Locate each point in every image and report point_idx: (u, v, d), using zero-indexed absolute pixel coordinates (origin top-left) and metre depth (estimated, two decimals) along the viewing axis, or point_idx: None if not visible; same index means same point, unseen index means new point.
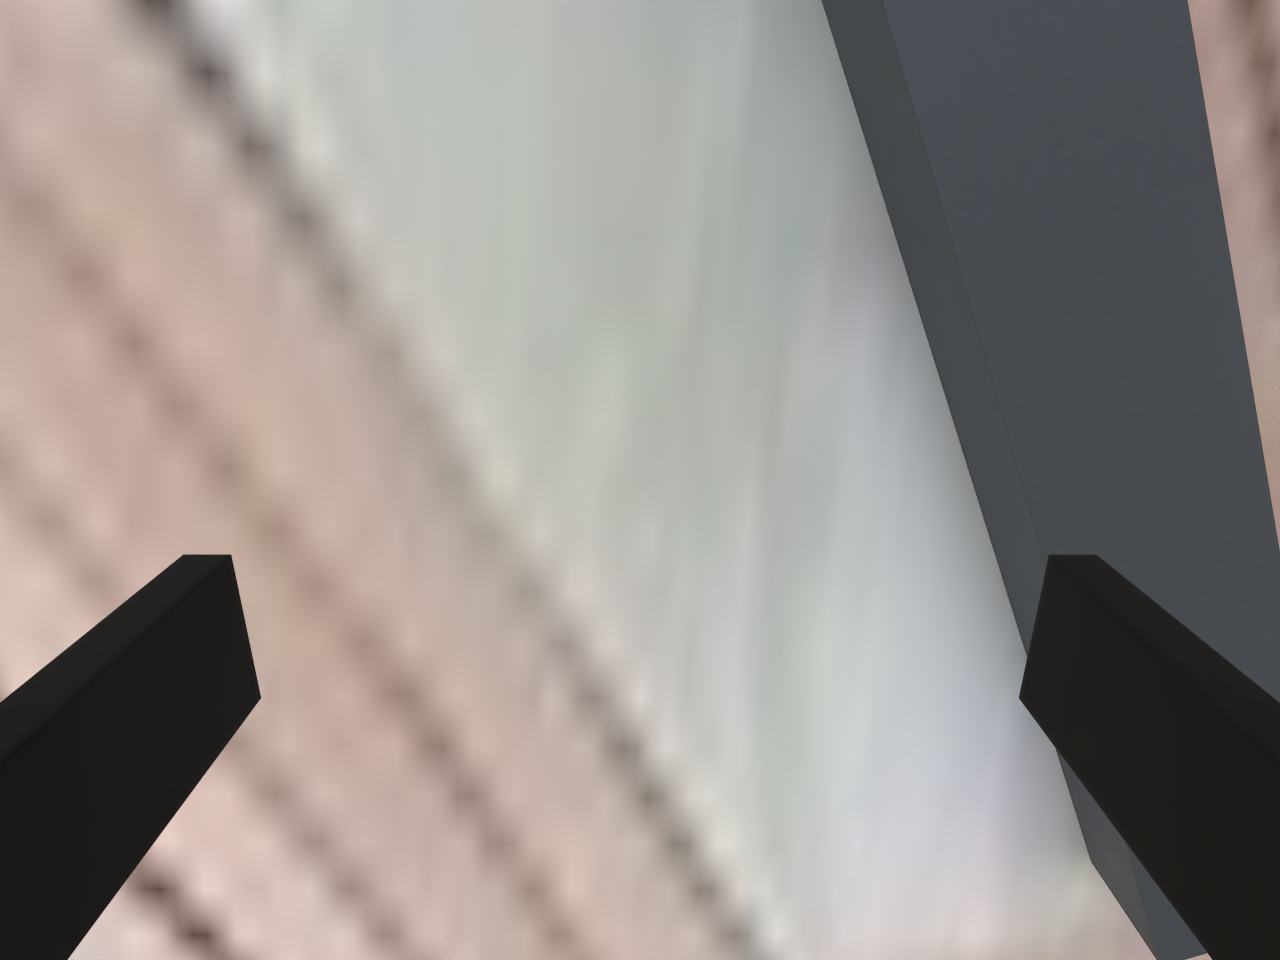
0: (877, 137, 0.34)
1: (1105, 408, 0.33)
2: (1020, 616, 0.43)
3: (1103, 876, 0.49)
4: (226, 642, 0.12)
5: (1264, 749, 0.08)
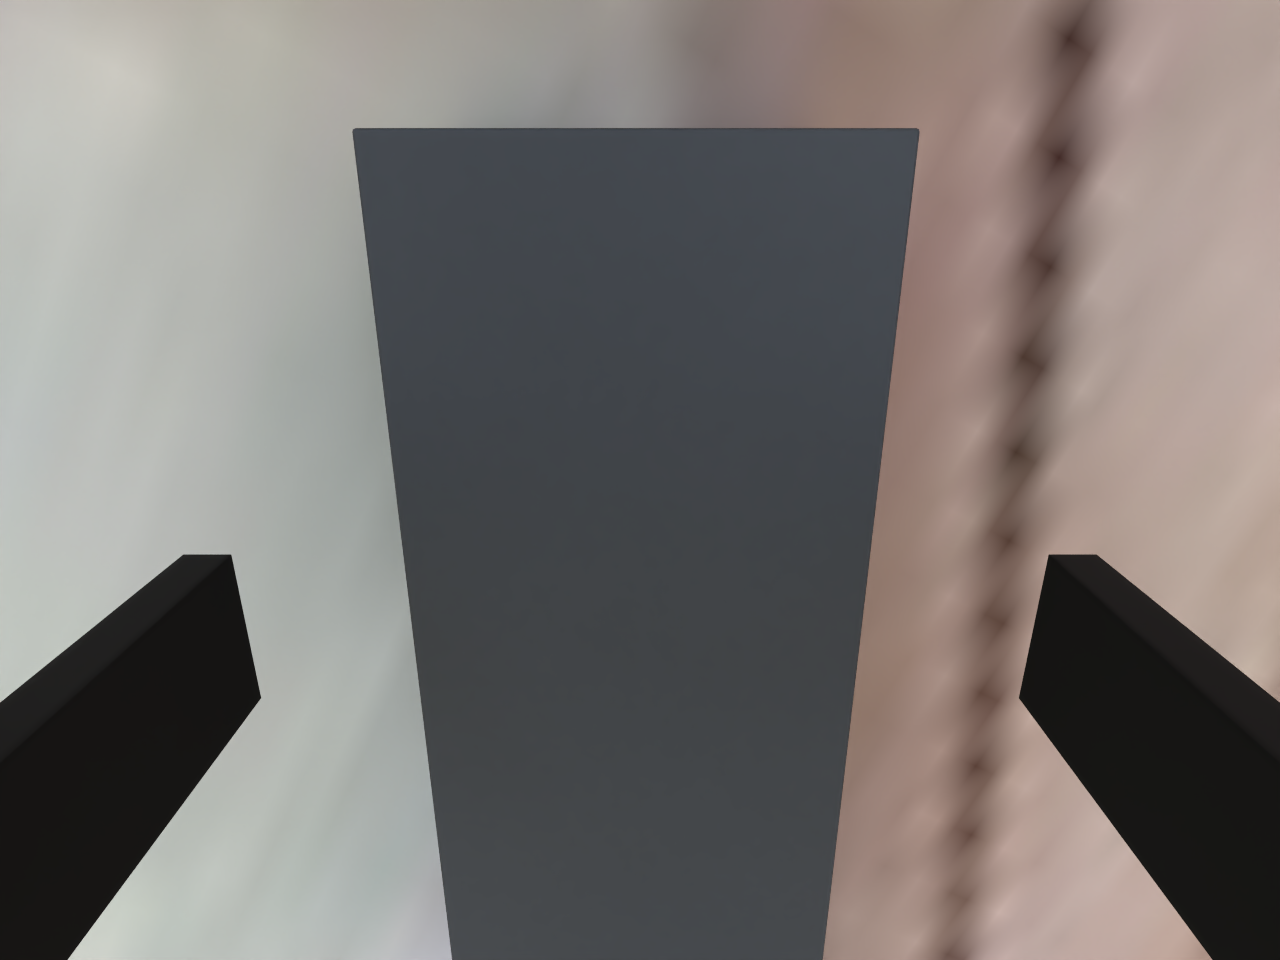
0: None
1: None
2: None
3: None
4: (226, 642, 0.12)
5: (1264, 749, 0.08)
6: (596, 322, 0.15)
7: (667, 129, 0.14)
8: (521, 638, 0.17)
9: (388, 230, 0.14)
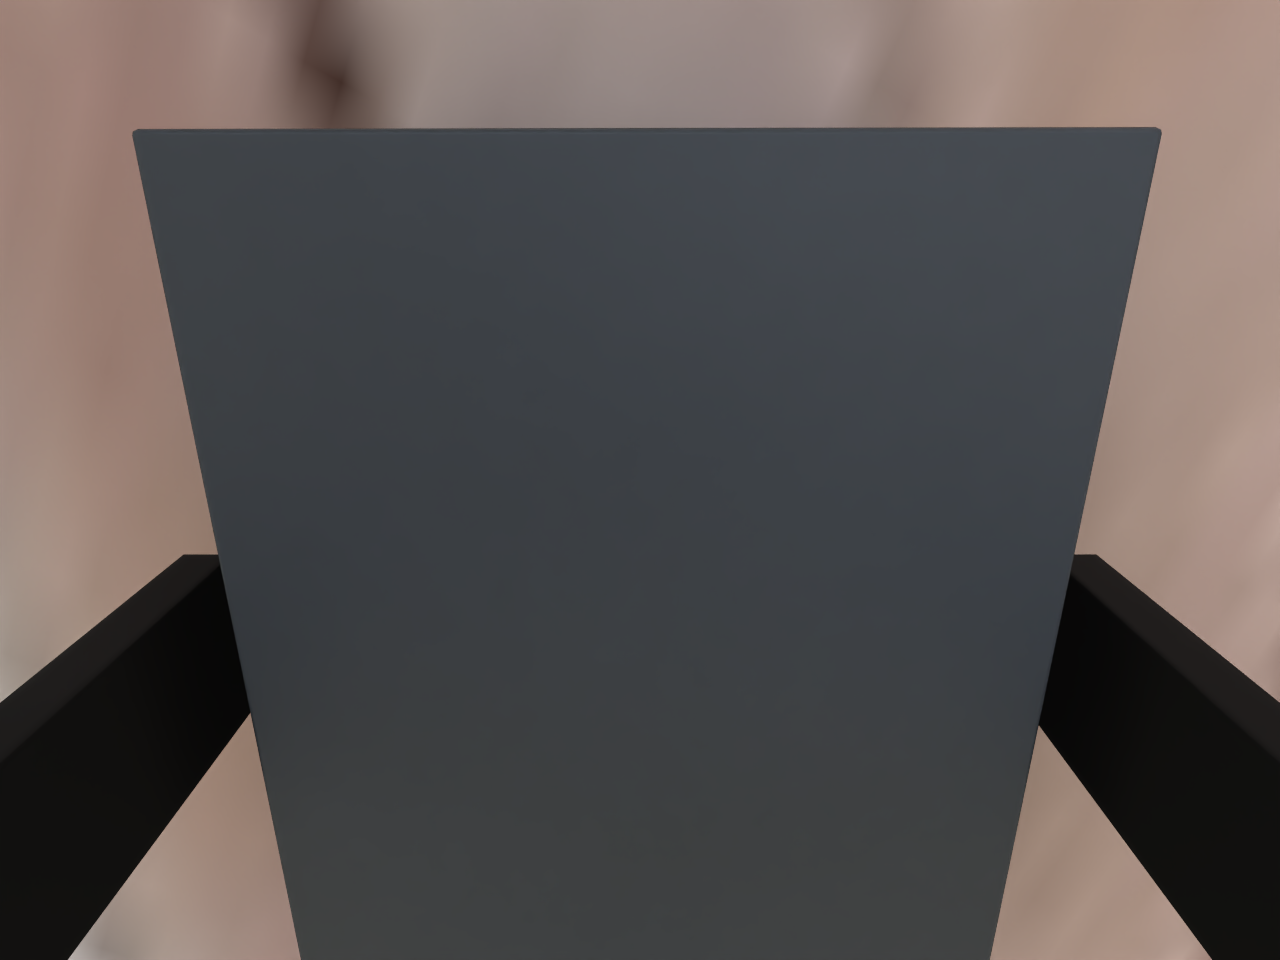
0: None
1: None
2: None
3: None
4: (226, 642, 0.12)
5: (1264, 748, 0.08)
6: (575, 460, 0.09)
7: (701, 130, 0.07)
8: (463, 927, 0.11)
9: (208, 308, 0.08)
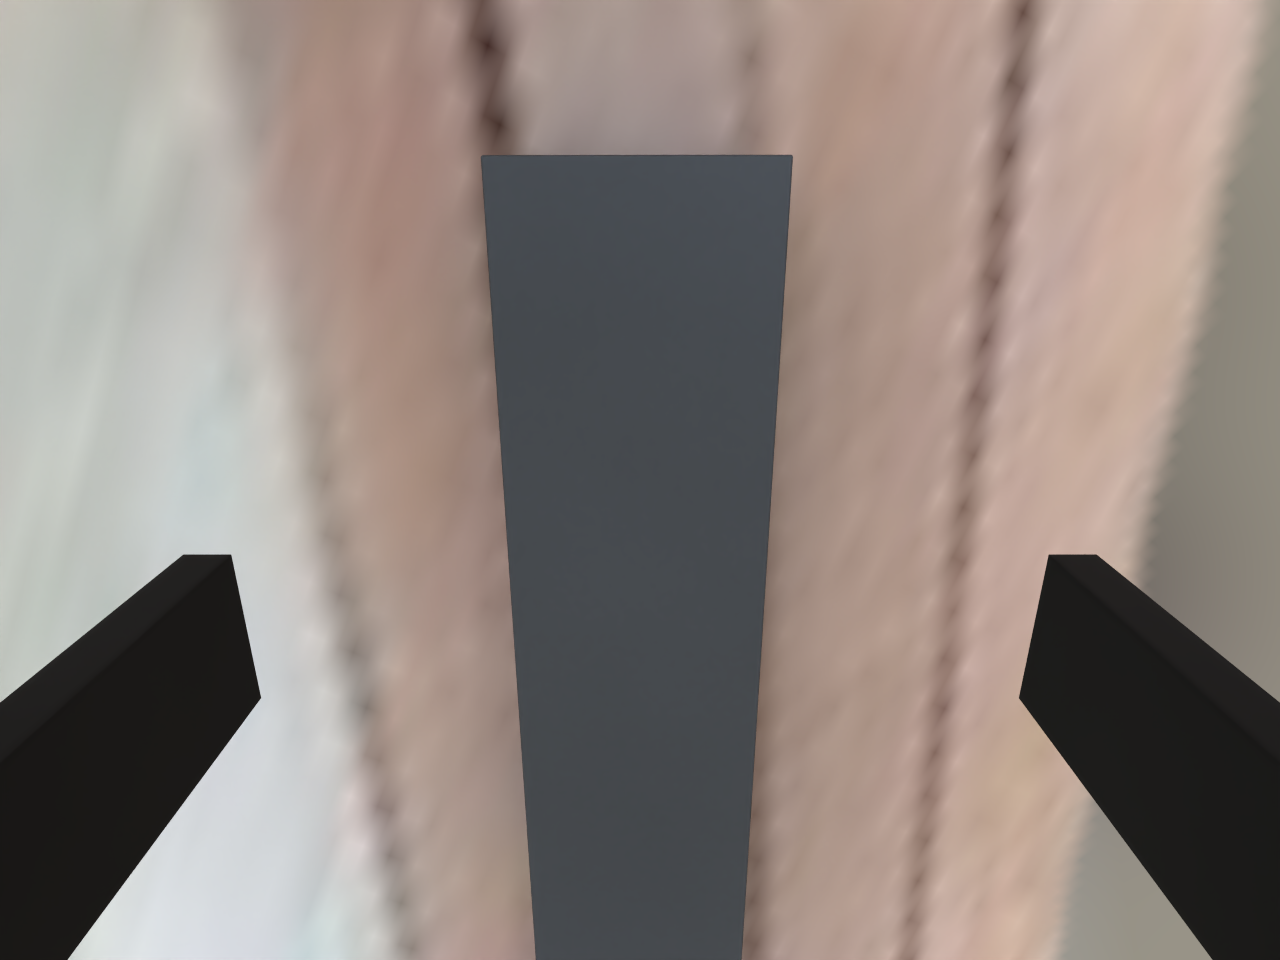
0: None
1: None
2: None
3: None
4: (226, 642, 0.12)
5: (1264, 749, 0.08)
6: (614, 264, 0.26)
7: (654, 155, 0.25)
8: (567, 461, 0.28)
9: (498, 211, 0.25)
